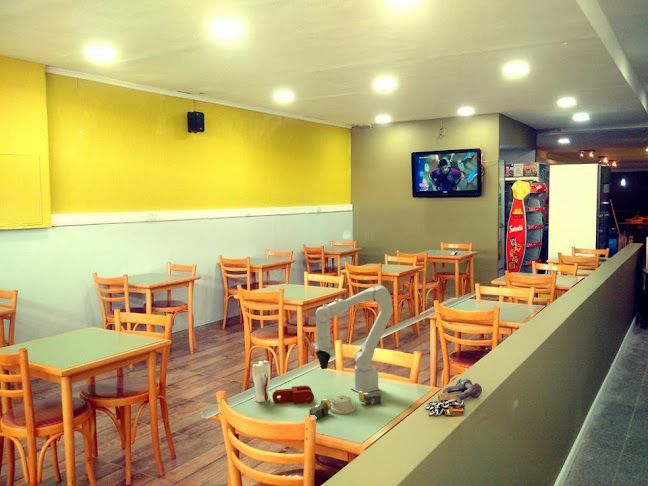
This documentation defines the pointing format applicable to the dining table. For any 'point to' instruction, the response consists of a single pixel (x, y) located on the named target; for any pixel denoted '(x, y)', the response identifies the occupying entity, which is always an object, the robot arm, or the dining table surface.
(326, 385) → the dining table surface
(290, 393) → the mechanical linkage
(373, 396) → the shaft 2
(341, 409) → the mechanical component
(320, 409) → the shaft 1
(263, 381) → the beer glass
